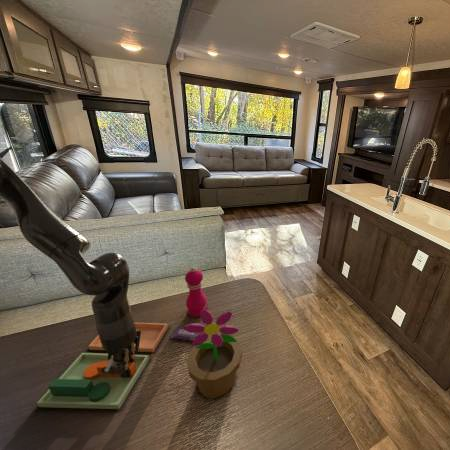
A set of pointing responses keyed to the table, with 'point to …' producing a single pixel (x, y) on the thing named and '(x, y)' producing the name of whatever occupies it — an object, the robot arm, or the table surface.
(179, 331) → the snack package
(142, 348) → the orange tray
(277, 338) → the table surface
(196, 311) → the pepper mill
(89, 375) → the orange spoon
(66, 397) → the green tray
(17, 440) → the table surface
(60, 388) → the green spoon
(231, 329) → the flowerpot
